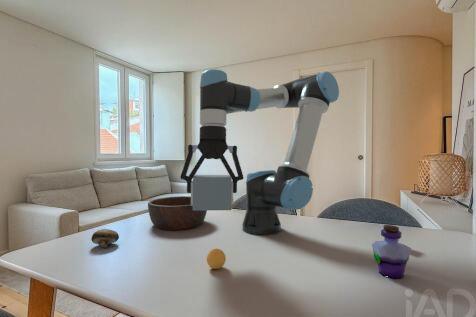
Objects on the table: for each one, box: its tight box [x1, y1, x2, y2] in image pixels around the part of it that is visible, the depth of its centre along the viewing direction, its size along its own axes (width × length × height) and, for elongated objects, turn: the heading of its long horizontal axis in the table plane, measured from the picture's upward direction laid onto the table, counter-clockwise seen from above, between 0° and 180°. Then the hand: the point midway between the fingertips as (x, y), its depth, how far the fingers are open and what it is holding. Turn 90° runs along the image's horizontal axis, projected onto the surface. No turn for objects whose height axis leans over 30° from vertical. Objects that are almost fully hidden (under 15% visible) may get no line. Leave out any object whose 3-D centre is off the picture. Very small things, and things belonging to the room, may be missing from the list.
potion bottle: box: [371, 224, 412, 280], centre depth 66 cm, size 9×9×12 cm
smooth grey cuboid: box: [192, 174, 232, 211], centre depth 76 cm, size 10×10×9 cm
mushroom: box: [90, 228, 120, 249], centre depth 88 cm, size 8×8×6 cm
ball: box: [206, 248, 227, 270], centre depth 70 cm, size 5×5×5 cm
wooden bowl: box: [147, 195, 208, 231], centre depth 115 cm, size 25×25×10 cm
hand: (211, 204), depth 76 cm, fingers closed on smooth grey cuboid, 10 cm apart
